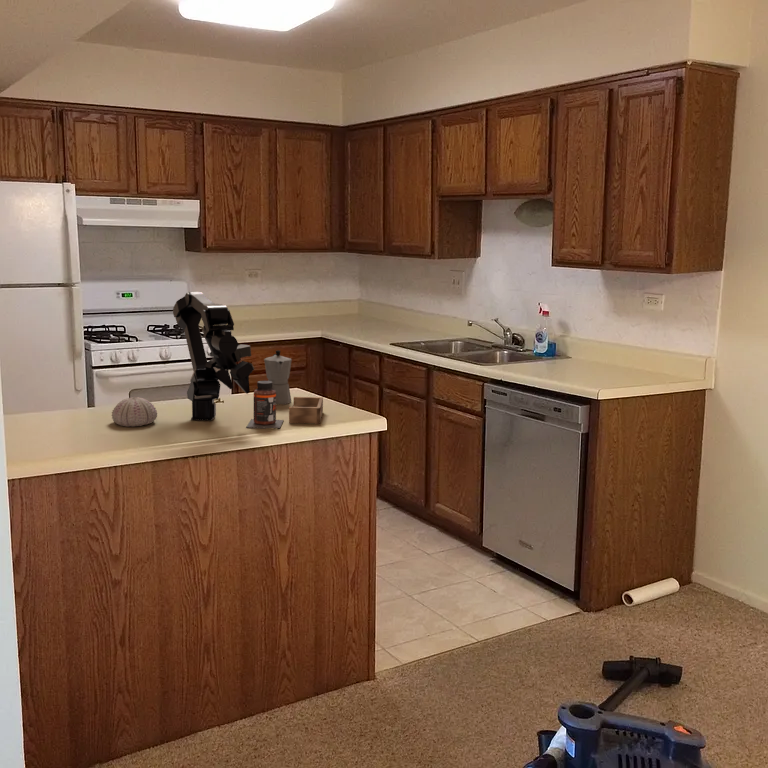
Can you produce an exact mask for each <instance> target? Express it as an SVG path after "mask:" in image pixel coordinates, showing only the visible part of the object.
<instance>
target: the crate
mask: <svg viewBox="0 0 768 768" xmlns="http://www.w3.org/2000/svg"><path fill="white" fill-rule="evenodd" d="M322 413H323V414H324V397H321V396H319V397H318V396H293V406H289V407H288V424H304V423H315V424H316V425H317V424H318V425H320V424H321V422H322V418H321V417H323V414H322ZM315 424H314V425H315Z"/></svg>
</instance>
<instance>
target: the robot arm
mask: <svg viewBox="0 0 768 768" xmlns="http://www.w3.org/2000/svg"><path fill="white" fill-rule="evenodd" d="M172 315H173V317H174V318H175V321H176V323H177V325H178V327H180V328H181V329H182V330H183V332H184V336H185V339H186V344H187V348H188V349H187V350H188V353H189V357H190V361H191V367H192V370H193V372H192V376H191V378H190V380H189V381H190V384H189V386H188V388H187V391H186V395H187V396H186V397H187V399H188V400H189V401H190V402H191V412H192V414H191V418H190V420H191V421H213V420H214V418H216V416H217V403H216V402H215V400H219V397H220V390H221V383H222V384H223V385H224V386H225V387H227V388H228V389H230V390H232V389H234V384H233V382H234V383H235V384H237V386H238V387H240V389H241V390H242V391H243V392H244V393H245V394H247V395H248V394H249V393H250V392H251V391H250V390H251V387H250V378H249V377H250V375H251V374H252V373H253V371H255V367H254V364H253V363H252V362H248V361H245V360H241V359H242V358H246V357H251V356H252V350H251V349H252V348H251V345H248V344H241V343H239V342H238V340H237V338H236V337H235V336H234V335H232V331H234V328H235V327H234V326H235V323H234V320H233V317H232V313H231V311H230V309H229V308H228V306H227V305H225V304H222V303H221V304H220V303H215V302H213V301H212V300H211V299H209V298H208V297H206V296H205V294H204V293H203V292H201V291H188V292H186V293H185V294H184V296H182V297H181V298H179V299H177V300H176V302H175V304H174V306H173V308H172ZM201 321H202V322H203V327H202V330H200V322H201ZM201 332H202V333H203V337H202V334H201ZM203 338H204V340H205V341H206V344H207V346H208V348H209V350H210V352H209V353H208V354H209V356H210V357H211V358H212V359H210V360H208V357H207V355H206V350H205V345H204V342H203ZM238 362H239V363H238ZM231 377H232V378H231ZM232 381H233V382H232ZM220 382H221V383H220Z"/></svg>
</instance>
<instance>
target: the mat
mask: <svg viewBox="0 0 768 768" xmlns="http://www.w3.org/2000/svg"><path fill="white" fill-rule="evenodd" d="M283 423H284V419H276V422H275V423H274V424H271V425H258V424H255V423H254V418H251V419H250V421H249V422H248V424H247V425H246V427H245V428H246V429H266V428H280V427H282V425H283ZM280 429H281V428H280Z"/></svg>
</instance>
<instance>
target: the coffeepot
mask: <svg viewBox="0 0 768 768" xmlns="http://www.w3.org/2000/svg"><path fill="white" fill-rule="evenodd" d="M263 361H264V366H265V367H264V368H265V373H266V379H267V381H271V382H272V385H273V386H272V388H273V389H274V390H275V391H276V404H283V405H289V404H290V403H291V402H292V397H291V391H290V385H289V378H290V373H291V367H292V361H293V359H292V358H290V357H286V356H283V355H281V350H278V349H277V350H275V353H274V354H273V355H272V356H269V357H266V358H263ZM288 403H289V404H288Z"/></svg>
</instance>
